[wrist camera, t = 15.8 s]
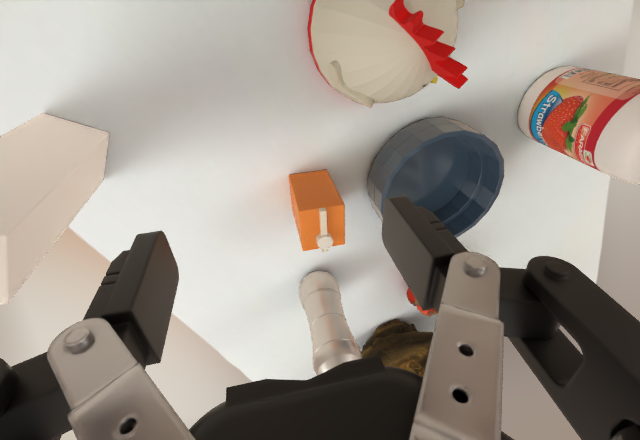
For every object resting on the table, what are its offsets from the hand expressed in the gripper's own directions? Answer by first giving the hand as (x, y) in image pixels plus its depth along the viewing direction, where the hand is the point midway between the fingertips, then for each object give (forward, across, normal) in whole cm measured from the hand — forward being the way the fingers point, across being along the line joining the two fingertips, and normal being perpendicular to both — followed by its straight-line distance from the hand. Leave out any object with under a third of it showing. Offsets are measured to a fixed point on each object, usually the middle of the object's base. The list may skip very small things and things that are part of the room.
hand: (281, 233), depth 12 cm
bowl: (+28, -21, +14) cm, 38 cm away
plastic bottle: (+28, -5, +31) cm, 42 cm away
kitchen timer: (+28, -13, -4) cm, 31 cm away
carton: (+28, -5, +14) cm, 32 cm away
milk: (+28, +20, +5) cm, 35 cm away
